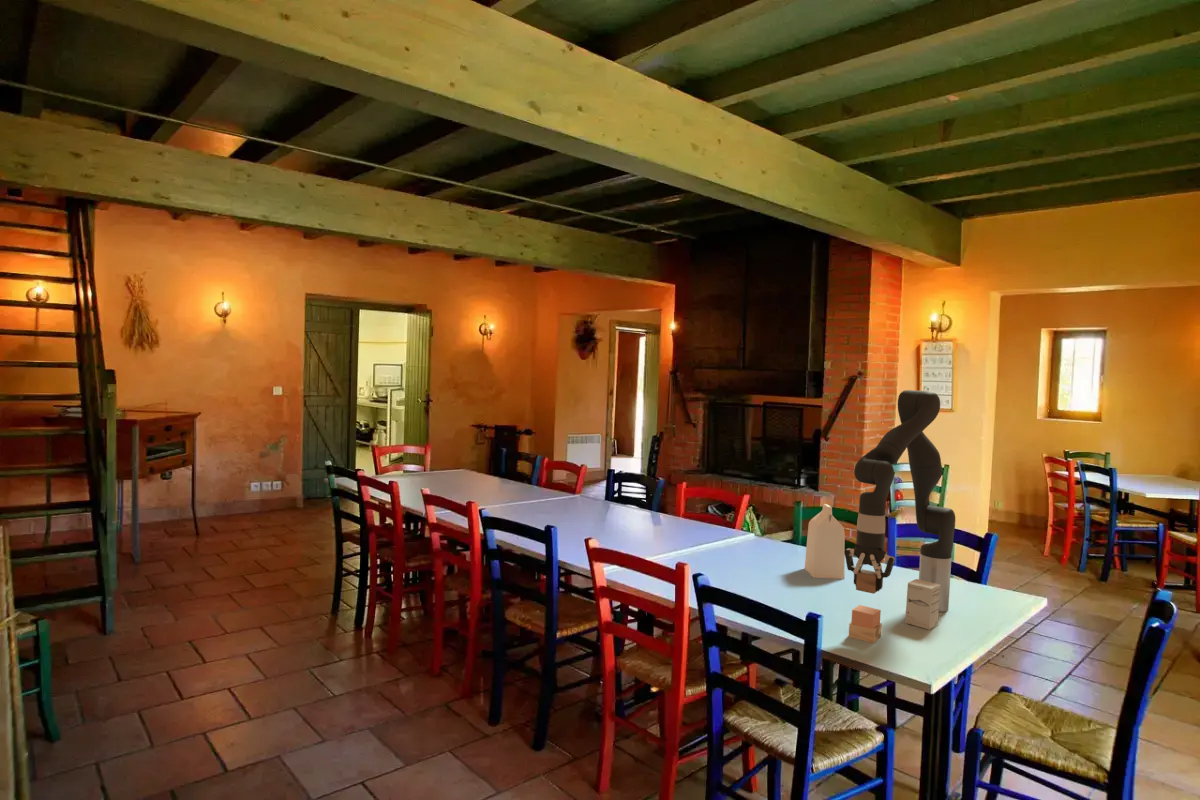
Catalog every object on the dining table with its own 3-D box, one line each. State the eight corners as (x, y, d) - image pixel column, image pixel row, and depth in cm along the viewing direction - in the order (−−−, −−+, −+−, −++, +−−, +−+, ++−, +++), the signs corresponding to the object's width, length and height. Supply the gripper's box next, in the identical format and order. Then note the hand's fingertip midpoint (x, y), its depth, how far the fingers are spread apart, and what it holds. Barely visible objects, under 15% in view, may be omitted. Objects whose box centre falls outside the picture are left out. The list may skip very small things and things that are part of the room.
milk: (844, 578, 258) (848, 509, 257) (813, 577, 258) (816, 507, 257) (834, 569, 270) (837, 503, 269) (804, 568, 270) (807, 502, 269)
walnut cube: (861, 586, 202) (862, 569, 202) (879, 589, 199) (880, 572, 199) (855, 589, 198) (856, 572, 198) (874, 593, 195) (875, 576, 195)
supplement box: (904, 623, 212) (906, 582, 211) (913, 618, 217) (916, 578, 217) (929, 630, 207) (931, 588, 206) (938, 624, 212) (941, 583, 211)
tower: (859, 618, 204) (859, 604, 203) (879, 623, 200) (880, 610, 200) (851, 623, 199) (852, 609, 199) (872, 629, 195) (873, 615, 195)
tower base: (856, 630, 204) (857, 617, 204) (880, 637, 200) (881, 623, 200) (848, 637, 199) (849, 623, 199) (873, 644, 195) (874, 629, 195)
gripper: (900, 531, 197) (897, 591, 198) (849, 523, 206) (846, 580, 206) (893, 535, 191) (890, 597, 192) (841, 527, 200) (838, 585, 200)
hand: (867, 588), depth 199 cm, fingers closed on walnut cube, 5 cm apart
